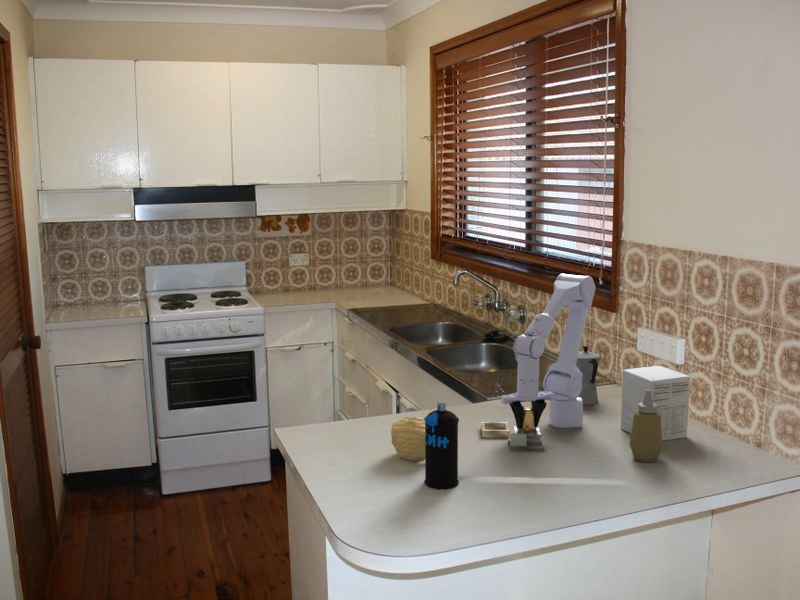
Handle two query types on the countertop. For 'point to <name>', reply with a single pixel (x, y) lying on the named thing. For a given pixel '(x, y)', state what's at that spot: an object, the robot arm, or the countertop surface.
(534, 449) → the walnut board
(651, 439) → the squeeze bottle
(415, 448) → the sculpture
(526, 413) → the brass cylinder plug
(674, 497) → the countertop surface
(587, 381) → the coffeepot
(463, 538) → the countertop surface
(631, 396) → the supplement box
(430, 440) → the aerosol can
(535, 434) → the steel socket
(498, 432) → the ash socket frame
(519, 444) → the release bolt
